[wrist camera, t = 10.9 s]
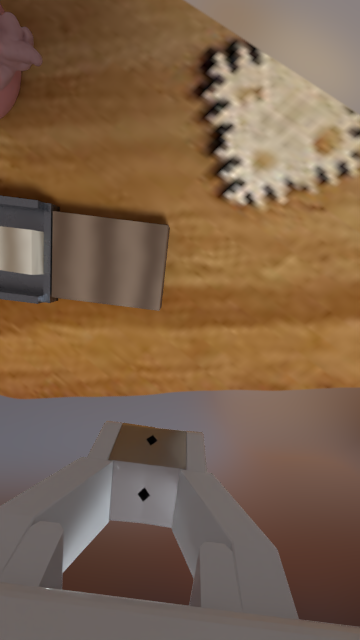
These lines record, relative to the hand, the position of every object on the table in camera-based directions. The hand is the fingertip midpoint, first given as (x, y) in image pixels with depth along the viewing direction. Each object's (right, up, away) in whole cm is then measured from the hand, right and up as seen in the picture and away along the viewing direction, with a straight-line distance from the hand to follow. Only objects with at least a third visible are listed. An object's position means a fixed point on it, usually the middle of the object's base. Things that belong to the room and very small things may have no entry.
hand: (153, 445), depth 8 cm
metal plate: (-9, +13, +32) cm, 36 cm away
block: (-22, +14, +31) cm, 41 cm away
